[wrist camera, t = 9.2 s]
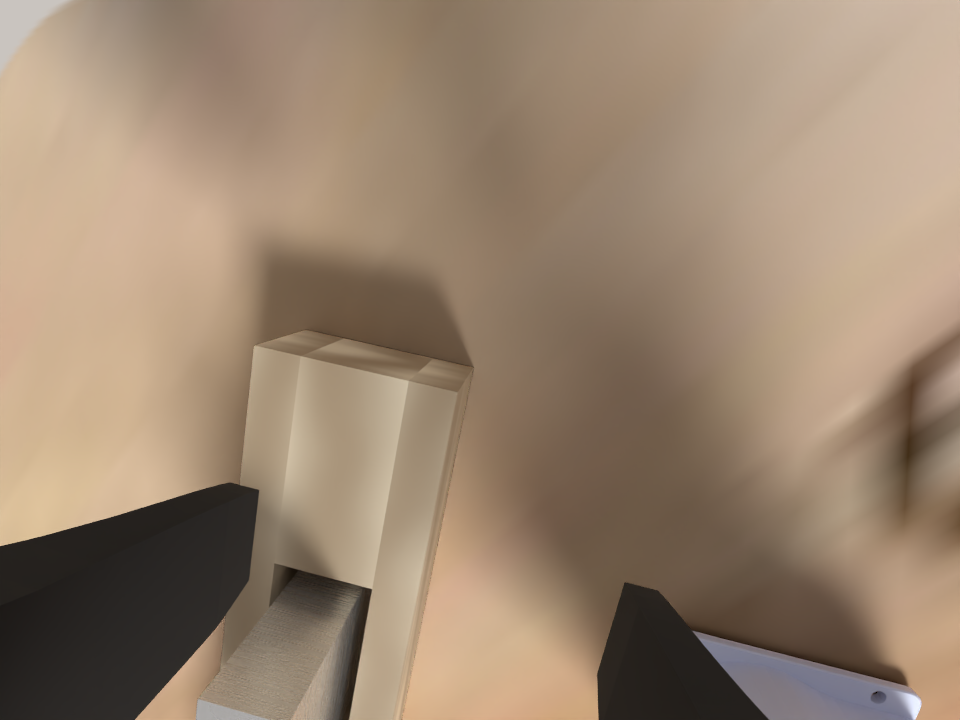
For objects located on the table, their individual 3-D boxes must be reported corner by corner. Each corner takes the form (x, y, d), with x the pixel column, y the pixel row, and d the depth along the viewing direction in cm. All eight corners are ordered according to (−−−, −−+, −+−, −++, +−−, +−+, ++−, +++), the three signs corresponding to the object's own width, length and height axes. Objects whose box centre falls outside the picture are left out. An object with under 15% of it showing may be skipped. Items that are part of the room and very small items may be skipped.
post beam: (473, 367, 18) (457, 392, 15) (379, 828, 23) (351, 926, 20) (306, 329, 19) (254, 345, 16) (247, 788, 24) (198, 877, 20)
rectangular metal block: (385, 546, 20) (288, 725, 13) (363, 670, 22) (262, 901, 14) (328, 532, 21) (197, 698, 13) (309, 655, 22) (180, 875, 14)
